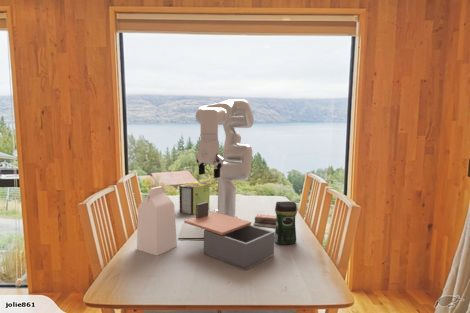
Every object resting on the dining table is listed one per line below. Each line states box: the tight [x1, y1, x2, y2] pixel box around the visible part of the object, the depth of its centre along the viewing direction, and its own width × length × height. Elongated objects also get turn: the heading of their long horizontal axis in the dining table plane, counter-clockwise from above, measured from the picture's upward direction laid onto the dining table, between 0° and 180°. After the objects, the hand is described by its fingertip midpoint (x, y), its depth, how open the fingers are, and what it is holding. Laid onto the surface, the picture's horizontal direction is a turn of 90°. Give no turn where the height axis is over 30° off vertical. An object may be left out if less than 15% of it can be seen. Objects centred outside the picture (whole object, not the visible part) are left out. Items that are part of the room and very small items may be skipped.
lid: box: [183, 202, 252, 235], centre depth 148 cm, size 22×18×7 cm
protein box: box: [179, 181, 211, 216], centre depth 203 cm, size 10×15×16 cm
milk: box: [136, 185, 178, 256], centre depth 146 cm, size 12×12×26 cm
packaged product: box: [252, 213, 276, 229], centre depth 181 cm, size 18×5×10 cm
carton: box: [203, 224, 275, 271], centre depth 142 cm, size 22×18×10 cm
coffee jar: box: [274, 200, 298, 245], centre depth 156 cm, size 10×8×19 cm
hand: (209, 175), depth 155 cm, fingers open, 9 cm apart
